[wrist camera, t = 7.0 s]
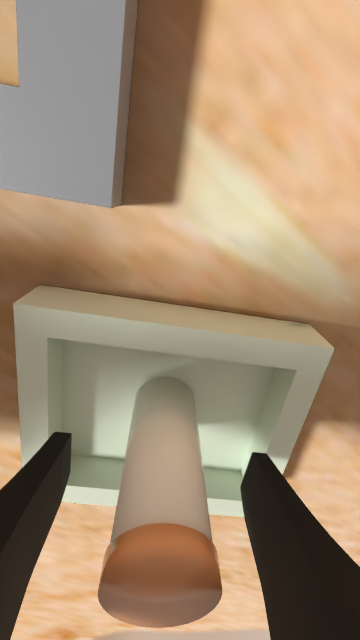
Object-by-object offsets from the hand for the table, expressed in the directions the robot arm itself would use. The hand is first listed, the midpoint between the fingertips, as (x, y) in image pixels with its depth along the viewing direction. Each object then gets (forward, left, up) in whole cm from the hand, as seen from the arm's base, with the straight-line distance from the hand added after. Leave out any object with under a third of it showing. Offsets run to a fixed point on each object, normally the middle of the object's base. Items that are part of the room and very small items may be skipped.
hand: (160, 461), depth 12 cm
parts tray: (0, 0, -4) cm, 4 cm away
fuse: (0, 0, -3) cm, 3 cm away
